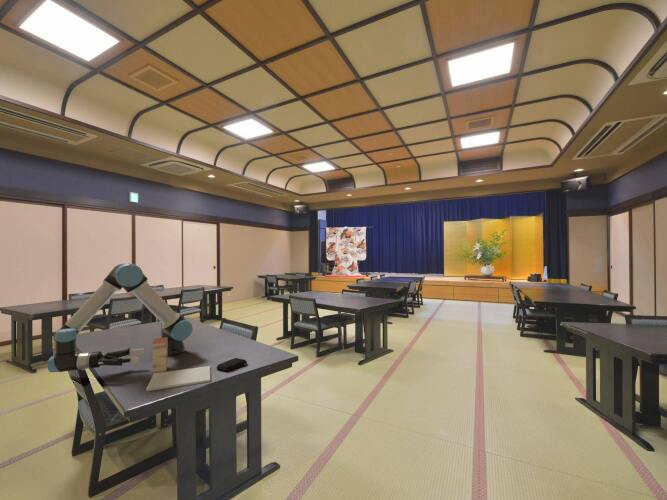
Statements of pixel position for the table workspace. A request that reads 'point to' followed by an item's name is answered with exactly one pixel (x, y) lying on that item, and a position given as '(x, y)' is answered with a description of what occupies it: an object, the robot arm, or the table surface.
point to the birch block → (160, 354)
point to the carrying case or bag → (231, 364)
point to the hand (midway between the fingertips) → (141, 354)
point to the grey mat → (179, 378)
